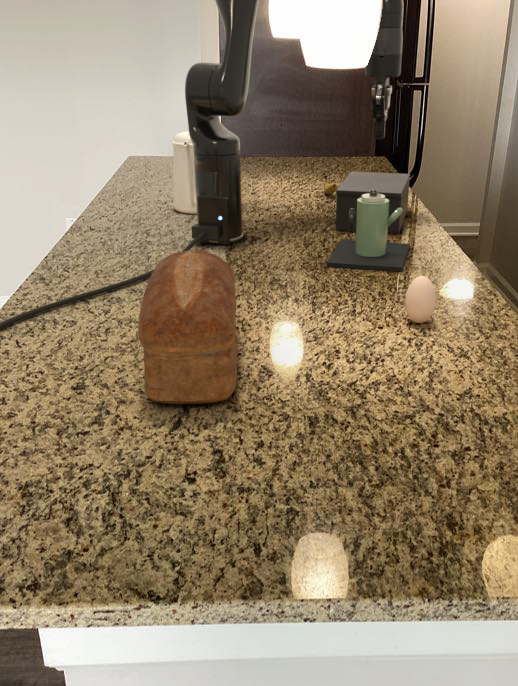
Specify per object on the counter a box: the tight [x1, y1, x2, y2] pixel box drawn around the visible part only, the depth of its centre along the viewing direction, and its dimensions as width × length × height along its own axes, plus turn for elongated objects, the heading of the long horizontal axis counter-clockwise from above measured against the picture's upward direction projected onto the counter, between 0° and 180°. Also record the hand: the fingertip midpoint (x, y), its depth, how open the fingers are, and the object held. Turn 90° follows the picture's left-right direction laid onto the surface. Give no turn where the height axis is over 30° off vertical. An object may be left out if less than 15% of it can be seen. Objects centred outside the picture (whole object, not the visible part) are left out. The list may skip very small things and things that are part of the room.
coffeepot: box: [172, 125, 197, 215], centre depth 181 cm, size 11×25×19 cm, turn 179°
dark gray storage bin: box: [335, 177, 411, 234], centre depth 175 cm, size 20×14×8 cm
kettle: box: [348, 189, 403, 257], centre depth 149 cm, size 10×6×12 cm, turn 78°
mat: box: [326, 239, 411, 273], centre depth 152 cm, size 16×14×1 cm
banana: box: [323, 175, 338, 196], centre depth 198 cm, size 10×2×4 cm, turn 10°
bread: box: [137, 249, 238, 405], centre depth 105 cm, size 12×31×14 cm, turn 4°
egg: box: [404, 275, 437, 324], centre depth 120 cm, size 5×5×7 cm
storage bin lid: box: [335, 170, 411, 197], centre depth 172 cm, size 20×14×1 cm, turn 167°
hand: (379, 138), depth 173 cm, fingers closed
